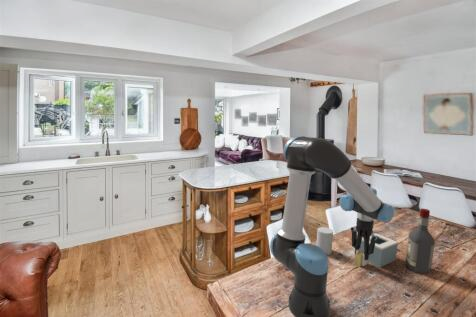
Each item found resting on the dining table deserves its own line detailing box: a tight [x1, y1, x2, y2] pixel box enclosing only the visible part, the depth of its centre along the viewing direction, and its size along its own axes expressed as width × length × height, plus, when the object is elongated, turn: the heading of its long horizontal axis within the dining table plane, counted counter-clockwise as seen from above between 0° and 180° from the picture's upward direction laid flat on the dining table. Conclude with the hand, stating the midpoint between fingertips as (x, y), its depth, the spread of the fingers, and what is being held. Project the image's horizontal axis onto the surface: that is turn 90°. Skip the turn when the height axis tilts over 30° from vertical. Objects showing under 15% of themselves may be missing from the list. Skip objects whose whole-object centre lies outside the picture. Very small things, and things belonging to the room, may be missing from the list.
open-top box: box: [359, 232, 399, 268], centre depth 136 cm, size 14×12×10 cm
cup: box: [315, 226, 334, 256], centre depth 143 cm, size 8×8×12 cm
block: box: [354, 250, 368, 268], centre depth 131 cm, size 6×3×6 cm, turn 120°
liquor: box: [405, 208, 436, 275], centre depth 126 cm, size 9×9×30 cm
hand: (360, 263), depth 131 cm, fingers closed on block, 3 cm apart
